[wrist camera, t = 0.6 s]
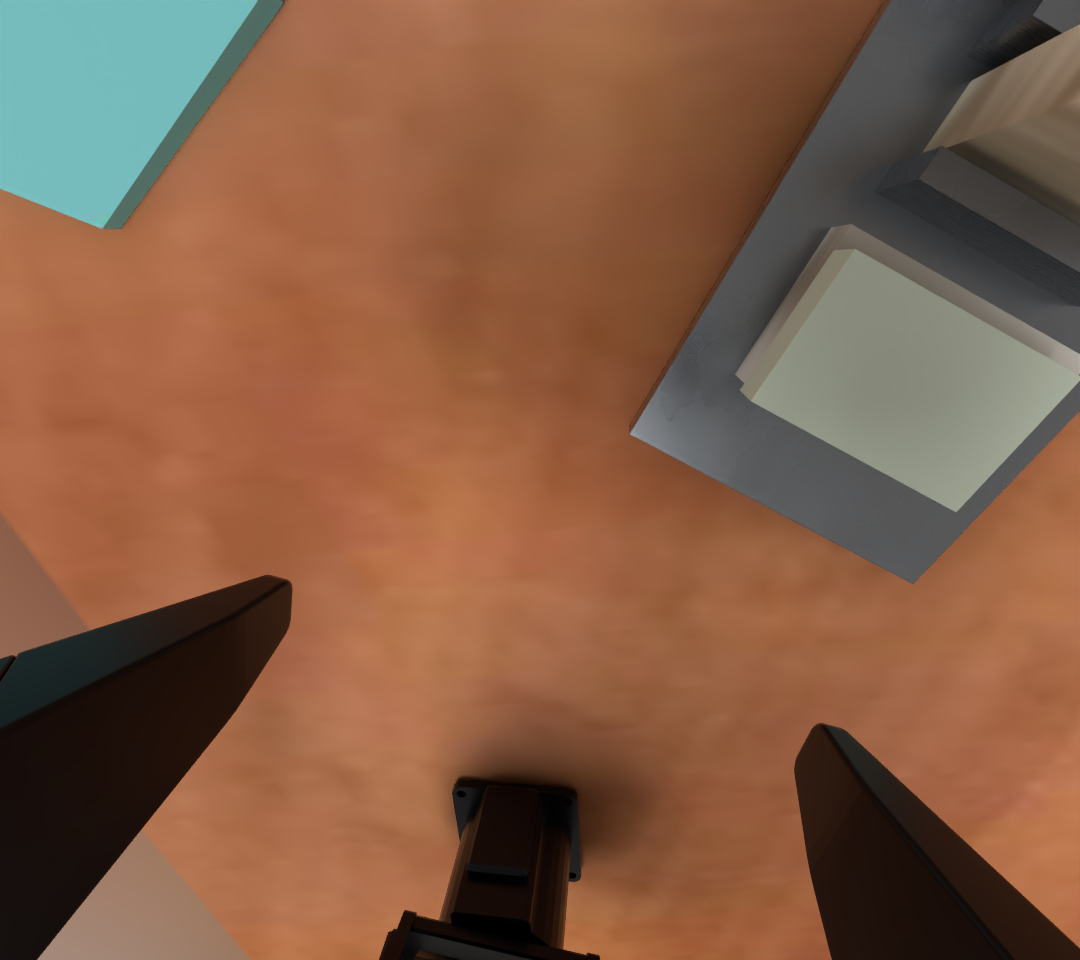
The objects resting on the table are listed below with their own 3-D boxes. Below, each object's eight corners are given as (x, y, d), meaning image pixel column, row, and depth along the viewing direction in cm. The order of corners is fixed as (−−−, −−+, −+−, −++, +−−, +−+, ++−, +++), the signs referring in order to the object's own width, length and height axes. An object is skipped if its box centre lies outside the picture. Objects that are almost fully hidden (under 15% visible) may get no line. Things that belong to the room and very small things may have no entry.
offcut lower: (935, 483, 19) (960, 500, 17) (734, 374, 18) (744, 383, 17) (1051, 353, 17) (1091, 360, 15) (831, 227, 16) (851, 224, 15)
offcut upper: (929, 492, 17) (956, 512, 16) (740, 390, 17) (750, 401, 16) (1041, 367, 16) (1082, 377, 14) (833, 250, 15) (855, 248, 14)
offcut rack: (900, 570, 21) (979, 655, 16) (629, 426, 20) (633, 473, 16) (1342, 98, 15) (1679, 19, 10) (965, -136, 14) (1140, -337, 9)
